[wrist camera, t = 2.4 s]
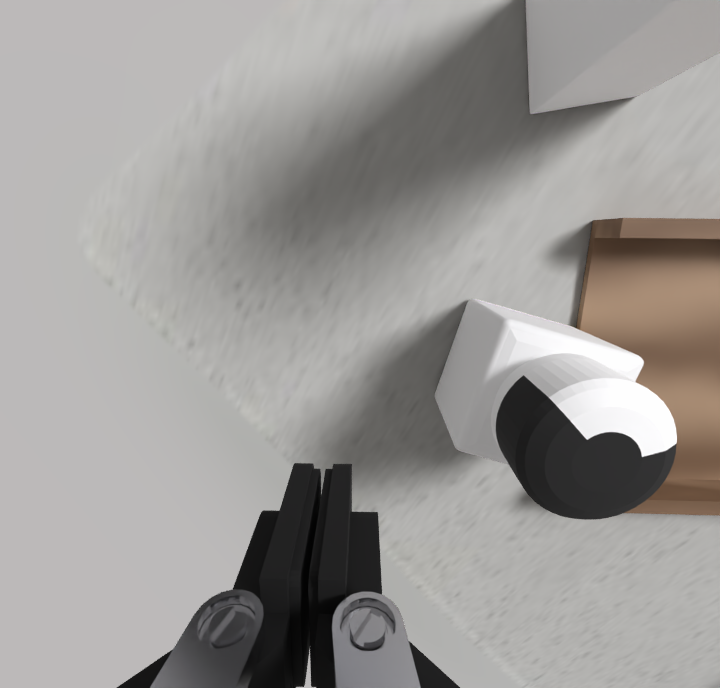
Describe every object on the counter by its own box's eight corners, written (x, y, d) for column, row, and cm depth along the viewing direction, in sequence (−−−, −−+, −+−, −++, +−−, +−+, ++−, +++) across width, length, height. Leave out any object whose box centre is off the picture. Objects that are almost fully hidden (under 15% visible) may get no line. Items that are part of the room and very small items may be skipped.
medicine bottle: (531, 424, 27) (652, 563, 15) (432, 397, 27) (479, 518, 15) (573, 326, 25) (746, 401, 14) (467, 296, 25) (553, 346, 13)
